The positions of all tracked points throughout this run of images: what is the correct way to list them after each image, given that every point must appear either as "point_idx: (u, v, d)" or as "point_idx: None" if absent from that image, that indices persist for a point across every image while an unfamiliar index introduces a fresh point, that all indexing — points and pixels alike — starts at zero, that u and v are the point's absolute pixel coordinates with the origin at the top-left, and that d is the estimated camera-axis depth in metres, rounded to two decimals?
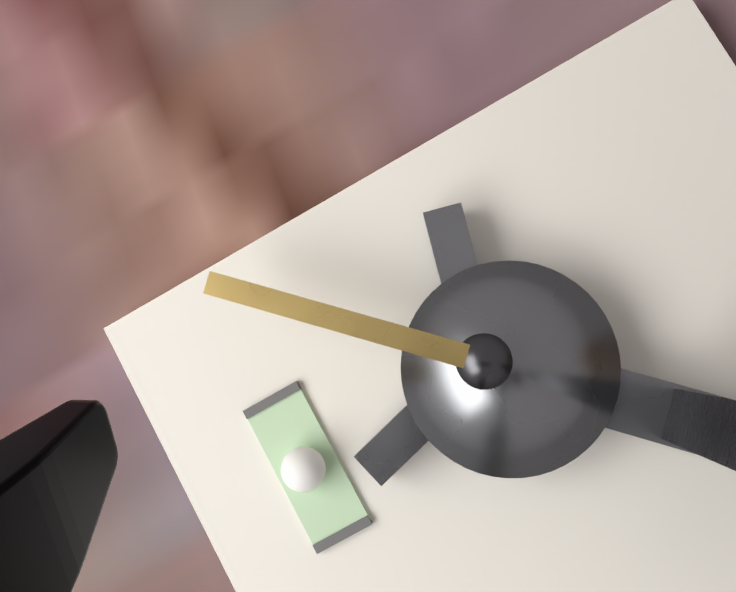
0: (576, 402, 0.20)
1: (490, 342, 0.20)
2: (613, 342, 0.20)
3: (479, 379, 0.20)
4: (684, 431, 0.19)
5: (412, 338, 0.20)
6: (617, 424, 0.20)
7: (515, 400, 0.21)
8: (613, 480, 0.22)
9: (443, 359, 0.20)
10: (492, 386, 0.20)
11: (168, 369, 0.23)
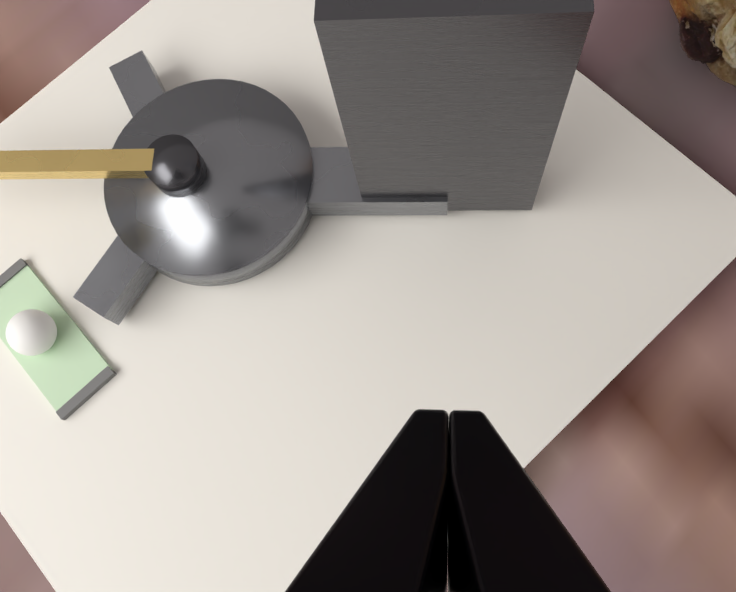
0: (274, 185, 0.21)
1: (172, 141, 0.20)
2: (297, 124, 0.21)
3: (168, 176, 0.20)
4: None
5: (99, 158, 0.21)
6: (318, 196, 0.21)
7: (217, 199, 0.21)
8: (343, 266, 0.21)
9: (131, 167, 0.20)
10: (180, 178, 0.20)
11: None
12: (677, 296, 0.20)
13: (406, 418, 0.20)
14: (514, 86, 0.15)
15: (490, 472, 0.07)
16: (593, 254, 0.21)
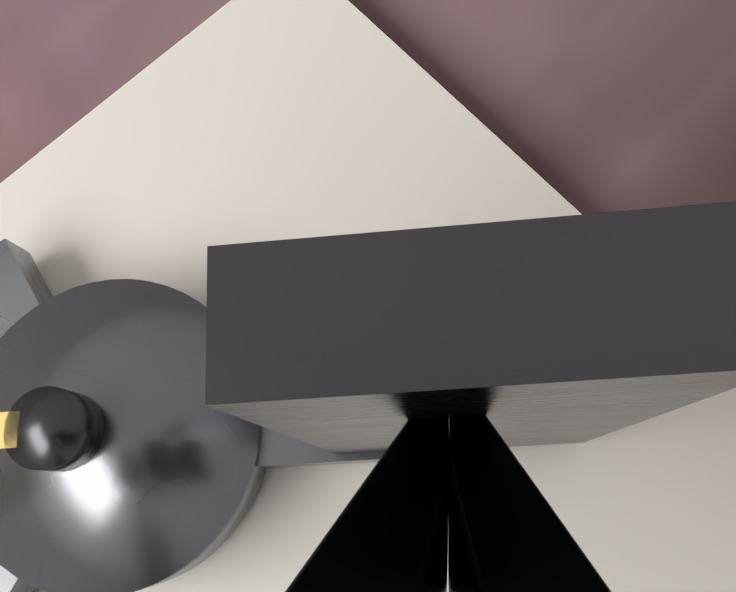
0: (205, 443, 0.14)
1: (46, 397, 0.14)
2: None
3: (41, 455, 0.13)
4: None
5: None
6: (272, 455, 0.14)
7: (122, 471, 0.14)
8: None
9: None
10: (60, 459, 0.13)
11: None
12: None
13: None
14: (595, 408, 0.08)
15: (490, 472, 0.07)
16: (675, 578, 0.14)
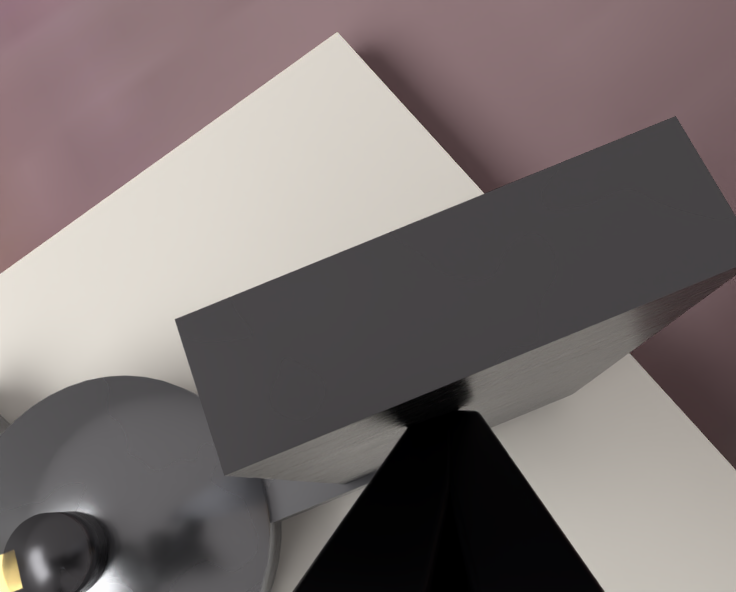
0: (214, 518, 0.14)
1: (38, 527, 0.13)
2: None
3: (51, 586, 0.13)
4: None
5: None
6: (283, 506, 0.14)
7: (139, 573, 0.13)
8: None
9: None
10: (72, 583, 0.13)
11: None
12: None
13: None
14: (585, 356, 0.08)
15: (485, 472, 0.07)
16: None
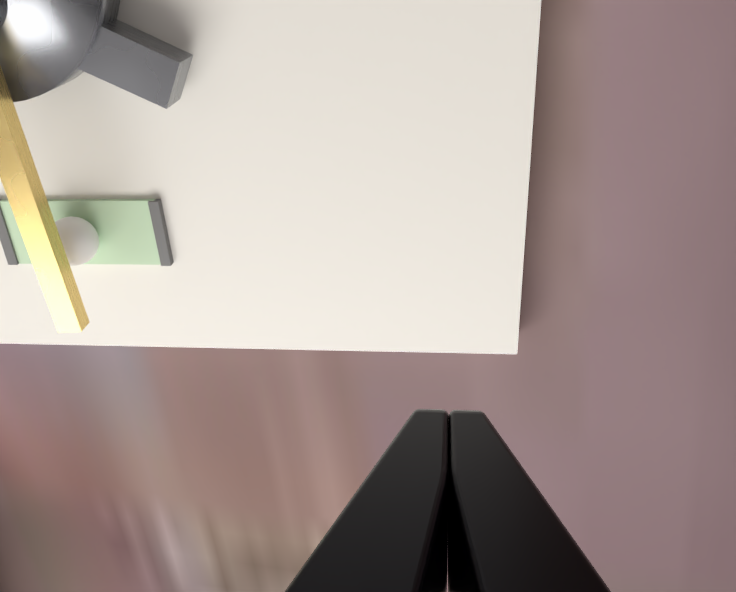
0: None
1: None
2: None
3: None
4: None
5: None
6: None
7: None
8: None
9: None
10: None
11: None
12: None
13: None
14: None
15: (490, 472, 0.07)
16: None
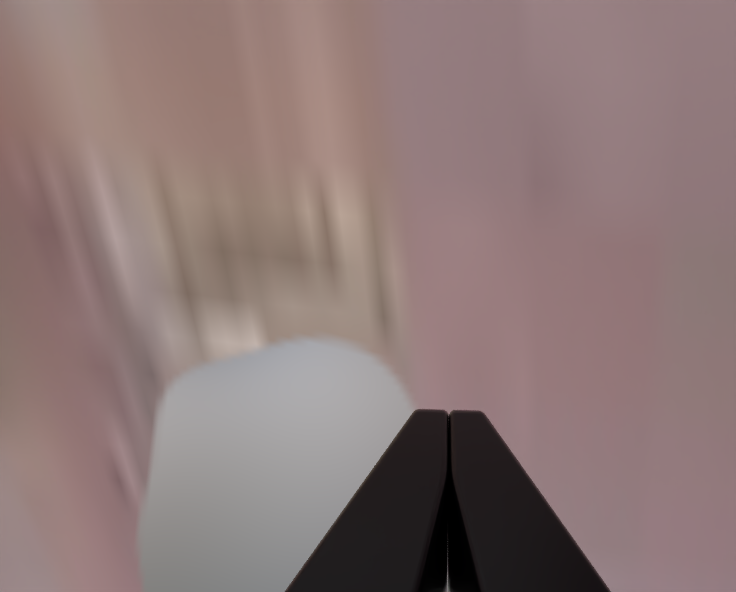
0: None
1: None
2: None
3: None
4: None
5: None
6: None
7: None
8: None
9: None
10: None
11: None
12: None
13: None
14: None
15: (490, 472, 0.07)
16: None
